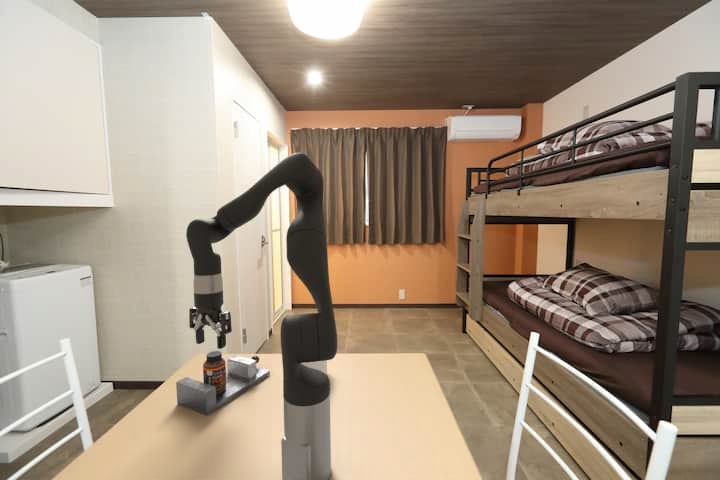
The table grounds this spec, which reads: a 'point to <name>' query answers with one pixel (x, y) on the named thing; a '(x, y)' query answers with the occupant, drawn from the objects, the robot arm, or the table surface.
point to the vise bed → (213, 391)
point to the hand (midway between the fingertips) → (210, 345)
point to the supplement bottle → (215, 371)
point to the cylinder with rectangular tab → (317, 365)
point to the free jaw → (242, 366)
